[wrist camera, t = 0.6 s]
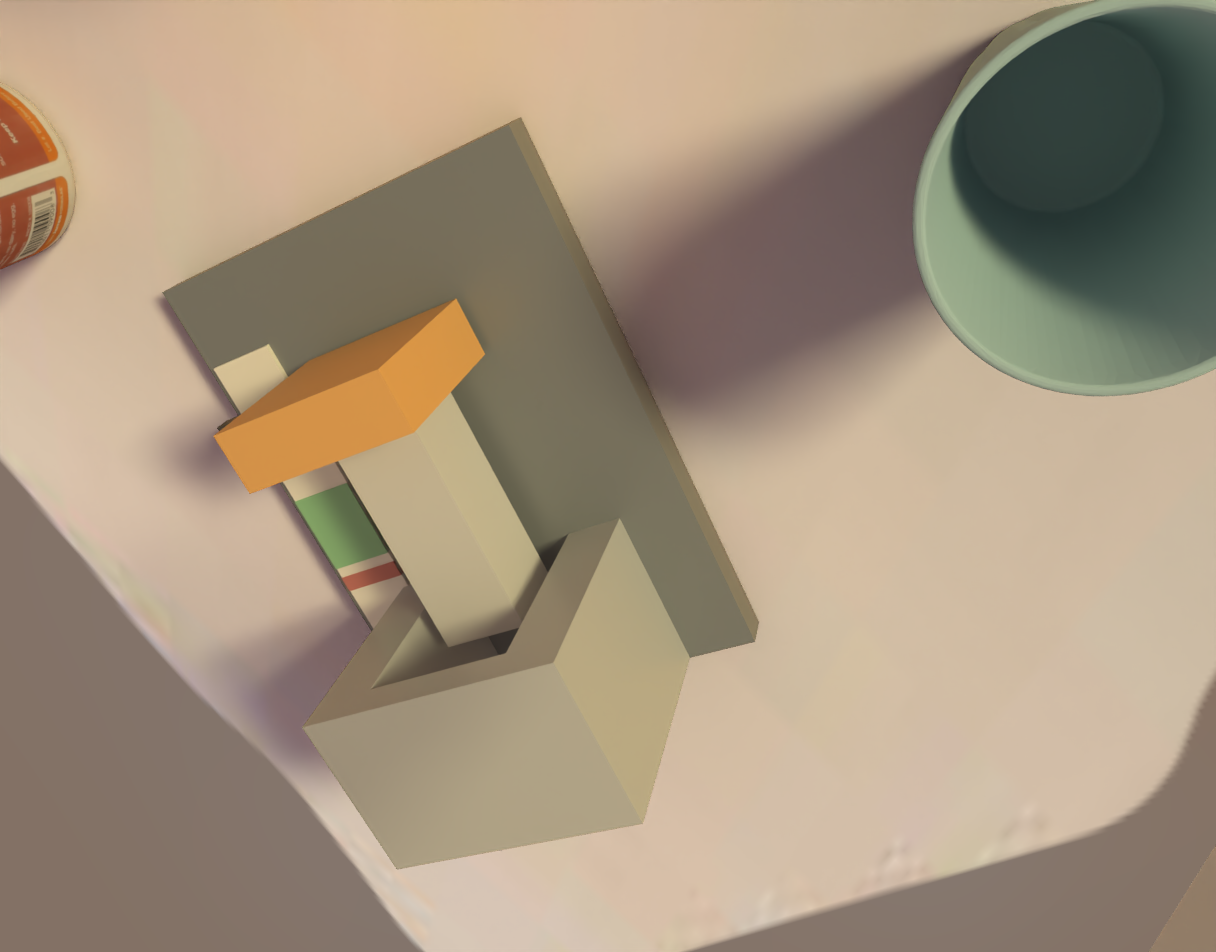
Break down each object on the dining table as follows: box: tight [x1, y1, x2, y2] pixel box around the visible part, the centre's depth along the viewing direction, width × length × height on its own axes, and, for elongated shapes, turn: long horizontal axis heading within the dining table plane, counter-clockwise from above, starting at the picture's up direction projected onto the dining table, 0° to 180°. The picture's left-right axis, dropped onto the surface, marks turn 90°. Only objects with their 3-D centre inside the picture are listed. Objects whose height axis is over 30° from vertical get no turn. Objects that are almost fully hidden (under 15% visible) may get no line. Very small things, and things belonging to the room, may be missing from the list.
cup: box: [912, 0, 1216, 396], centre depth 26 cm, size 8×8×10 cm
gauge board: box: [162, 117, 759, 869], centre depth 35 cm, size 19×14×9 cm
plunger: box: [214, 299, 548, 647], centre depth 36 cm, size 10×10×6 cm
